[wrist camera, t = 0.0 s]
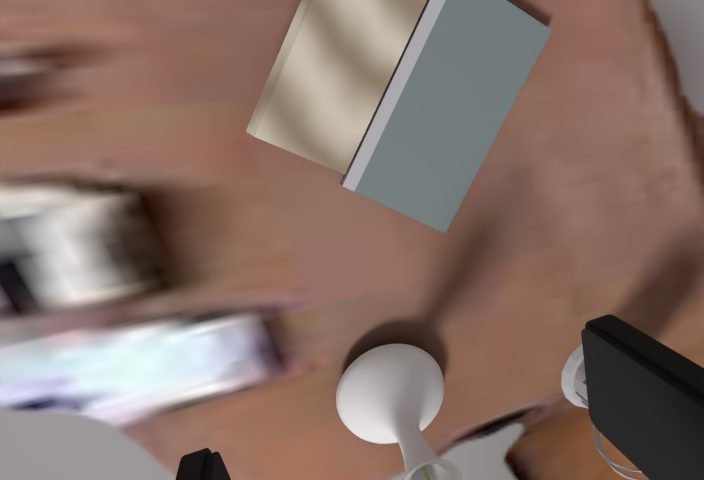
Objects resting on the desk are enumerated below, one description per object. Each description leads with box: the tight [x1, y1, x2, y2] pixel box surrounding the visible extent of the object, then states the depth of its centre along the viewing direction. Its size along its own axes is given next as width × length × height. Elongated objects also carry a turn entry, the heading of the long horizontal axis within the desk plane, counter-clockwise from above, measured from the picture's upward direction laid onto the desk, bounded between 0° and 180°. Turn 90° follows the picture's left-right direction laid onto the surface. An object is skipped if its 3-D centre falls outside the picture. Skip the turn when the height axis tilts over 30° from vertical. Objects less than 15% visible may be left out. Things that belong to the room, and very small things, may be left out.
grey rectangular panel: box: [340, 0, 552, 233], centre depth 40 cm, size 20×11×1 cm, turn 154°
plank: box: [246, 0, 427, 175], centre depth 34 cm, size 18×10×1 cm
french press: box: [561, 344, 650, 480], centre depth 40 cm, size 10×12×25 cm
